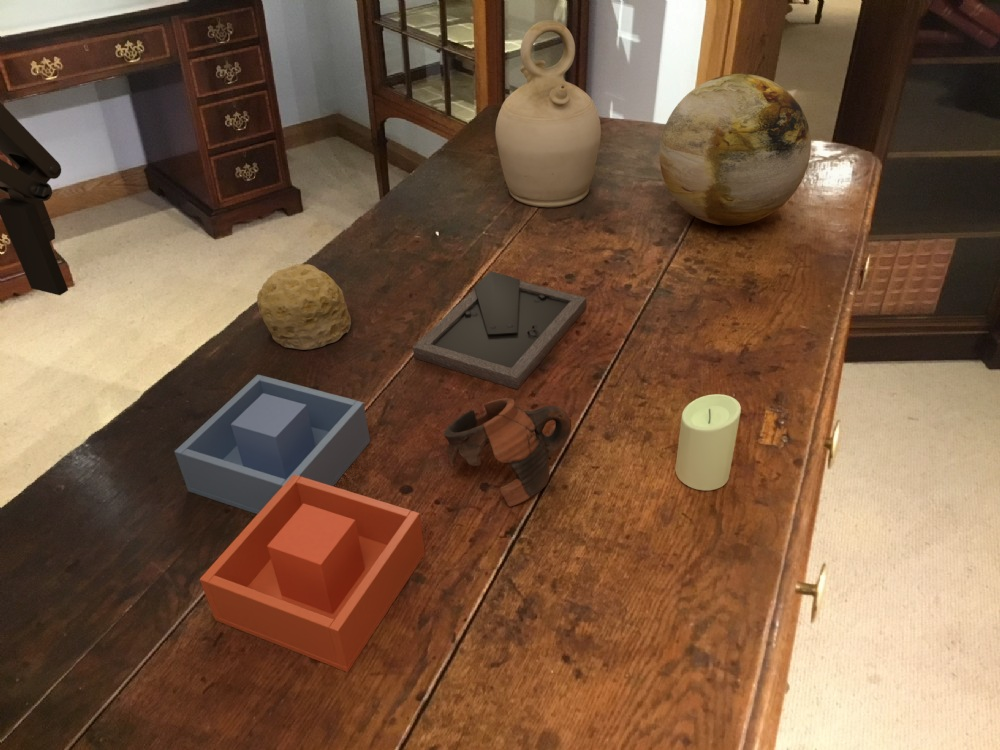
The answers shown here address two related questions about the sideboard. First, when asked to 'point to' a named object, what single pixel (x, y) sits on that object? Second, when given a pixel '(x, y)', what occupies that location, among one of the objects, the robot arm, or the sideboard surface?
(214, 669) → the sideboard surface
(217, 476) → the slate bin
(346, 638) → the rust bin
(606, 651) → the sideboard surface
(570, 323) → the picture frame
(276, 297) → the rock
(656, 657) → the sideboard surface
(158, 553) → the sideboard surface
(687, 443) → the candle
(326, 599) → the rust block
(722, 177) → the decorative sphere
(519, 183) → the jug
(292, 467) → the slate block
